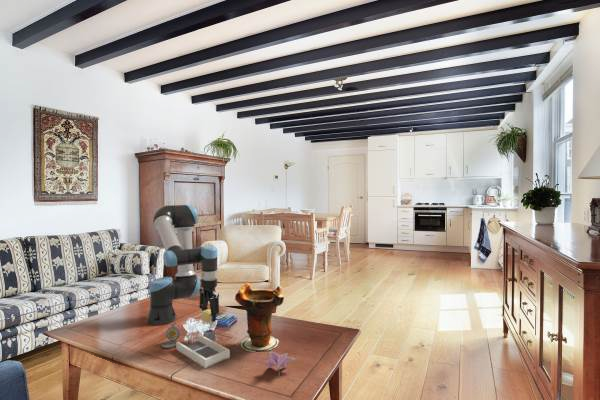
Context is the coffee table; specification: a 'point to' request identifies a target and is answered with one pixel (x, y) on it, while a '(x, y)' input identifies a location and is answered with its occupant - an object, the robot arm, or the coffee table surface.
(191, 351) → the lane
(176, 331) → the pocket watch
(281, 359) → the lily
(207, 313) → the ball
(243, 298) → the decorative vase
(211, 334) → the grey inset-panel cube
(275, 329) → the coffee table surface
